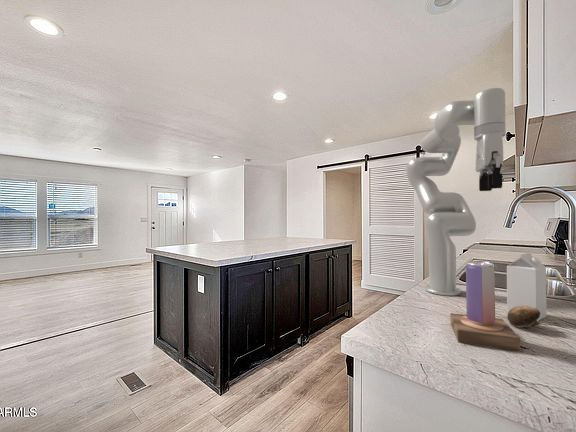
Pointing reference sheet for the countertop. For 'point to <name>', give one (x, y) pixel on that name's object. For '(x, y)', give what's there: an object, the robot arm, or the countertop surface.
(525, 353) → the countertop surface
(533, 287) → the milk carton
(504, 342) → the walnut base
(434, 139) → the robot arm
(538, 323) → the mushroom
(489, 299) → the beverage can
